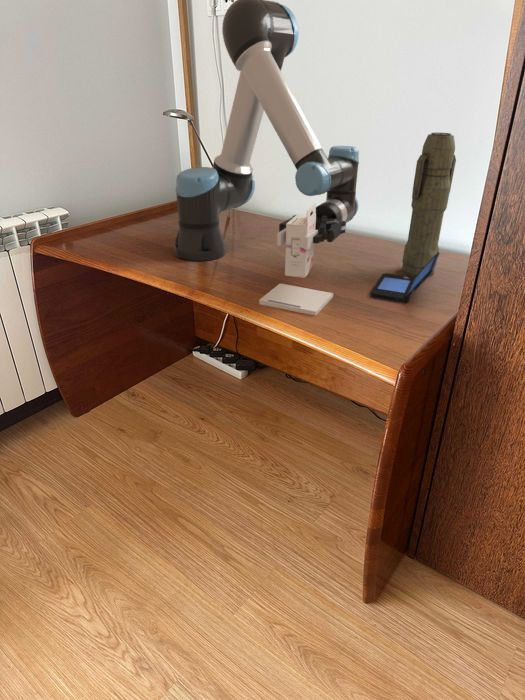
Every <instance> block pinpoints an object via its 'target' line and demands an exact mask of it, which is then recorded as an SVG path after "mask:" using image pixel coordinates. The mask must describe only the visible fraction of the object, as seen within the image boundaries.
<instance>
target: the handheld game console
mask: <svg viewBox="0 0 525 700" xmlns="http://www.w3.org/2000/svg"><path fill="white" fill-rule="evenodd" d="M439 256H440V252H438V253H437V254H436V255H435V256H434V257H433V258H432V259H431V260H430V261H429V262H428V263H427V265H426V266H425V267H424V268H423V269H422V270H421V271H420V272H419V273H418V275H415V276H414V277H413V276H409V275H408V276H407V275H401V274H393V273H386V272H385V273H381V276H380V277H379V278H378V280H377V281H376V283H375V285H374V286H373V287H372V289H371V290H370V294H369V295H370V297H371V298H374V299H379V300H385V301H392V302H397V303H401V304H402V303H403V304H409V301H410V299H411V296H412V295H413V294H414V293H415V292H416V291H417V290H418V289H419V288H420V286H421V285H422V284H423V283H424V282H425V281H426V280H427V279H428V278H429V276H430V274H431V273H432V271H433V269H434V266H435V264H436V262H437V263H438V259H439ZM436 265H437V264H436ZM435 267H436V266H435ZM434 270H435V269H434ZM430 277H431V276H430Z"/></svg>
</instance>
